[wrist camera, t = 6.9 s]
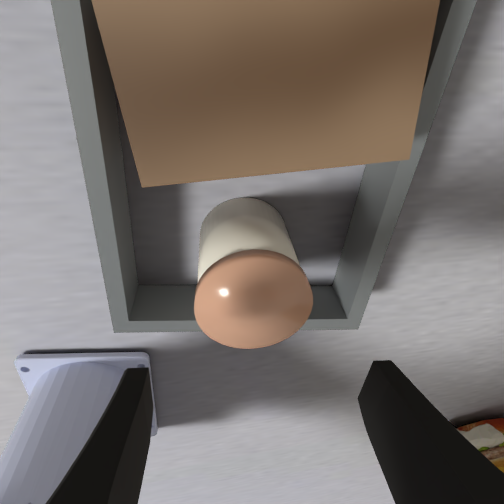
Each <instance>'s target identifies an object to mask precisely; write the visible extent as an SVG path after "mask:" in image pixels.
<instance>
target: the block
mask: <svg viewBox="0 0 504 504" xmlns="http://www.w3.org/2000/svg"><path fill="white" fill-rule="evenodd" d="M91 1H92V5H93V8H94V12H95V16H96V19H97V23H98V27H99V30H100V34H101V38H102V42H103V45H104V49H105V53H106V56H107V60H108V64H109V68H110V71H111V75H112V79H113V82H114V86H115V90H116V94H117V97H118V101H119V105H120V108H121V112H122V116H123V120H124V123H125V127H126V131H127V134H128V138H129V142H130V146H131V149H132V153H133V157H134V160H135V164H136V168H137V172H138V175H139V179H140V183H141V186H142V188H143V187H153V186H162V185H172V184H181V183H191V182H200V181H210V180H219V179H229V178H239V177H248V176H258V175H267V174H277V173H286V172H296V171H305V170H315V169H324V168H334V167H343V166H353V165H362V164H372V163H381V162H391V161H400V160H409V159H410V154H411V149H412V143H413V138H414V133H415V128H416V123H417V117H418V112H419V107H420V102H421V97H422V91H423V86H424V81H425V76H426V71H427V65H428V60H429V55H430V50H431V45H432V39H433V34H434V29H435V24H436V19H437V13H438V8H439V3H440V0H91Z"/></svg>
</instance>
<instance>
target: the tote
mask: <svg viewBox="0 0 504 504" xmlns="http://www.w3.org/2000/svg"><path fill="white" fill-rule="evenodd" d="M476 2H477V0H440V3H439V8H438V13H437V19H436V24H435V29H434V34H433V39H432V45H431V50H430V55H429V60H428V65H427V71H426V76H425V81H424V86H423V91H422V97H421V102H420V107H419V112H418V117H417V123H416V128H415V133H414V138H413V143H412V149H411V154H410V159H409V160H400V161H391V162H381V163H372V164H366V167H365V171H364V174H363V178H362V181H361V185H360V189H359V192H358V196H357V199H356V203H355V207H354V210H353V214H352V217H351V221H350V225H349V228H348V232H347V236H346V239H345V243H344V246H343V250H342V254H341V257H340V261H339V264H338V268H337V272H336V275H335V279H334V282H333V286H310V287H311V290H312V294H313V306H312V310H311V313H310V315H309V317H308V319H307V321H306V322H305V323H304V325H303V326H302V327H301V328H300V329H299V330H347V329H358V328H359V325H360V322H361V320H362V317H363V314H364V311H365V309H366V306H367V303H368V300H369V297H370V295H371V292H372V289H373V286H374V284H375V281H376V278H377V275H378V273H379V270H380V267H381V264H382V262H383V259H384V256H385V253H386V250H387V248H388V245H389V242H390V239H391V237H392V234H393V231H394V228H395V226H396V223H397V220H398V217H399V215H400V212H401V209H402V206H403V203H404V201H405V198H406V195H407V192H408V190H409V187H410V184H411V181H412V179H413V176H414V173H415V170H416V168H417V165H418V162H419V159H420V156H421V154H422V151H423V148H424V145H425V143H426V140H427V137H428V134H429V132H430V129H431V126H432V123H433V120H434V118H435V115H436V112H437V109H438V107H439V104H440V101H441V98H442V96H443V93H444V90H445V87H446V85H447V82H448V79H449V76H450V73H451V71H452V68H453V65H454V62H455V60H456V57H457V54H458V51H459V49H460V46H461V43H462V40H463V38H464V35H465V32H466V29H467V26H468V24H469V21H470V18H471V15H472V13H473V10H474V7H475V4H476ZM51 5H52V10H53V15H54V20H55V26H56V31H57V36H58V41H59V47H60V52H61V57H62V62H63V68H64V73H65V78H66V83H67V89H68V94H69V99H70V104H71V110H72V115H73V120H74V125H75V131H76V136H77V141H78V146H79V152H80V157H81V162H82V167H83V173H84V178H85V183H86V188H87V194H88V199H89V204H90V209H91V215H92V220H93V225H94V230H95V236H96V241H97V246H98V251H99V257H100V262H101V267H102V272H103V278H104V283H105V288H106V293H107V299H108V304H109V309H110V314H111V320H112V325H113V330H114V333H124V332H198V331H202V330H201V328H200V327H199V325H198V323H197V321H196V318H195V313H194V301H195V290H196V286H197V285H138V278H137V270H136V262H135V254H134V245H133V237H132V229H131V221H130V212H129V204H128V196H127V188H126V180H125V171H124V163H123V155H122V147H121V139H120V130H119V122H118V114H117V106H116V98H115V89H114V82H113V79H112V75H111V71H110V68H109V64H108V60H107V56H106V53H105V49H104V45H103V42H102V38H101V34H100V30H99V27H98V23H97V19H96V16H95V12H94V8H93V5H92V1H91V0H51Z"/></svg>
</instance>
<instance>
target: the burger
mask: <svg viewBox="0 0 504 504" xmlns="http://www.w3.org/2000/svg"><path fill="white" fill-rule="evenodd" d="M457 430H458V431H459V432H460V433H461V434H462V435H463V436H464V437H465V438H466V439H467V440H468V441H469V442H470V443H471V444H472V445H473V446H474V447H476V448H477V449H478V450H479V451H480V452H481V453H482V454H483V455H484V456H485V457H486V458H487V459H488V460H489V461H491V462H492V463H493V464H494V465H495V466H496V467H497V468H498V469H500V470H501V471H502V472H503V473H504V418H497V419H490V420H483V421H479V422H476V423H472V424H468V425H465V426H462V427H459V428H457Z"/></svg>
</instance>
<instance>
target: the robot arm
mask: <svg viewBox="0 0 504 504" xmlns="http://www.w3.org/2000/svg"><path fill="white" fill-rule="evenodd" d="M14 364H15V367H16V369H17V371H18V373H19V376H20V378H21V380H22V382H23V384H24V387H25V389H26V391H27V393H28V396H29V398H28V401H27V403H26V405H25V407H24V409H23V411H22V413H21V415H20V417H19V419H18V421H17V423H16V426H15V428H14V430H13V432H12V434H11V436H10V438H9V440H8V442H7V444H6V446H5V448H4V451H3V453H2V455H1V457H0V504H138V499H139V494H140V489H141V485H142V480H143V475H144V470H145V465H146V460H147V455H148V450H149V445H150V437H151V436H155V435H156V434H157V430H158V427H157V419H156V410H155V401H154V393H153V384H152V376H151V367H150V358H149V355H148V354H147V353H144V352H112V353H64V354H22V355H19V356H17V358H16V359H15V361H14ZM358 401H359V405H360V409H361V413H362V417H363V420H364V424H365V427H366V431H367V433H368V436H369V439H370V441H371V444H372V446H373V449H374V451H375V454H376V456H377V459H378V461H379V464H380V466H381V469H382V471H383V474H384V476H385V479H386V481H387V484H388V486H389V489H390V491H391V494H392V496H393V499H394V501H395V504H504V473H503V472H502V471H501V470H500V469H498V468H497V467H496V466H495V465H494V464H493V463H492V462H491V461H489V460H488V459H487V458H486V457H485V456H484V455H483V454H482V453H481V452H480V451H479V450H478V449H477V448H476V447H474V446H473V445H472V444H471V443H470V442H469V441H468V440H467V439H466V438H465V437H464V436H463V435H462V434H461V433H460V432H459V431H458V430H457V429H456V428H455V427H454V426H453V425H452V424H451V423H450V422H449V421H448V420H447V419H446V418H445V417H444V416H443V415H442V414H441V413H440V412H439V411H438V410H437V409H436V408H435V407H434V406H433V405H432V404H431V403H430V402H429V401H428V400H427V398H426V397H425V396H424V395H423V394H422V393H421V392H420V391H419V390H418V389H417V388H416V387H415V386H414V385H413V383H412V382H411V381H410V380H409V379H408V378H407V377H406V376H405V375H404V374H403V373H402V372H401V371H400V369H399V368H398V367H397V366H396V365H395V364H394V363H393V362H392V361H391V360H385V361H373V363H372V366H371V368H370V370H369V373H368V375H367V377H366V380H365V382H364V385H363V387H362V389H361V392H360V394H359V396H358Z"/></svg>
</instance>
